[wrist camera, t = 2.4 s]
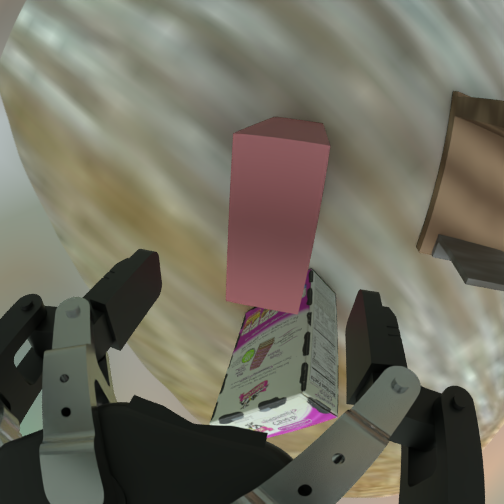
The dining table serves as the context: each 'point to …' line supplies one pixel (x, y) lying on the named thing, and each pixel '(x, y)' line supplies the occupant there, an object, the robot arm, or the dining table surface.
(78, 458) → the robot arm
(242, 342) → the candy bar box
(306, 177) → the burgundy book
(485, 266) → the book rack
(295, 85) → the dining table surface
